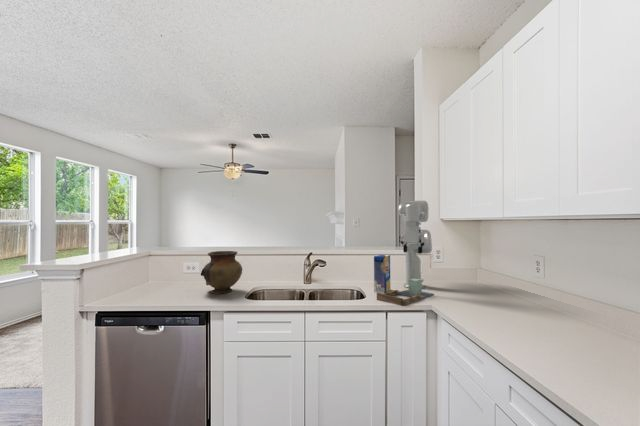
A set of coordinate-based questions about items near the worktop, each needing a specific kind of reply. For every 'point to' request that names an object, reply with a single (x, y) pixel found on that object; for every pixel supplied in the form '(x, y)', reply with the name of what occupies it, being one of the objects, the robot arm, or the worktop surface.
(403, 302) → the brown wooden frame
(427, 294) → the mat
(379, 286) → the beverage box
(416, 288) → the block
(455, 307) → the worktop surface
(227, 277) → the pot
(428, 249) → the robot arm
